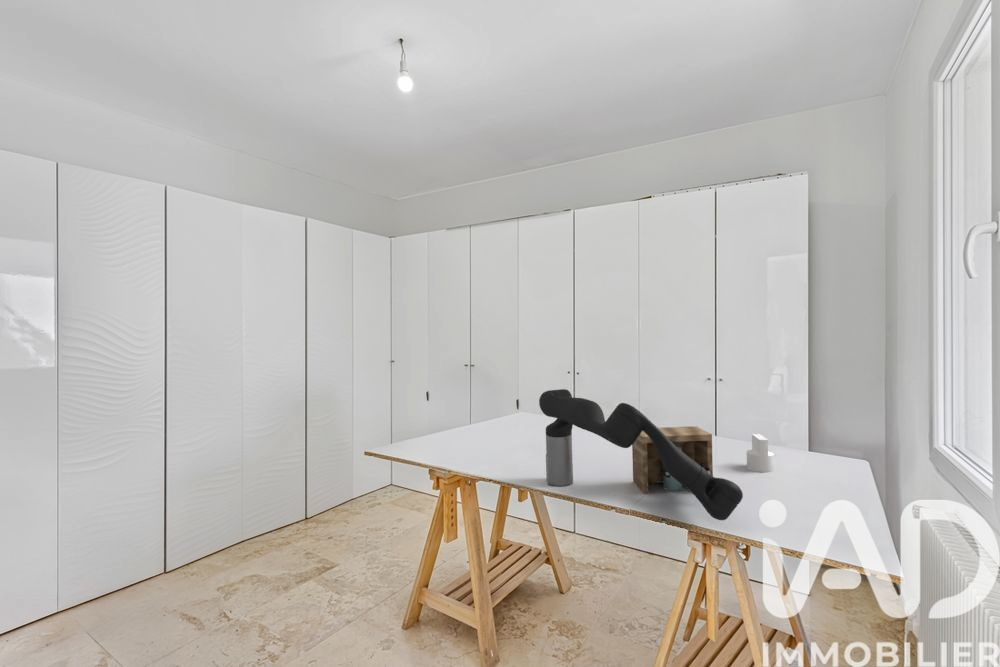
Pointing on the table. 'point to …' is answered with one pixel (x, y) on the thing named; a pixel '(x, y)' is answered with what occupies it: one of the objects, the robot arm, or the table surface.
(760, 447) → the base with upright slab
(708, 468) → the robot arm
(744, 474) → the table surface
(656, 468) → the open wooden box
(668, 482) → the tumbler
